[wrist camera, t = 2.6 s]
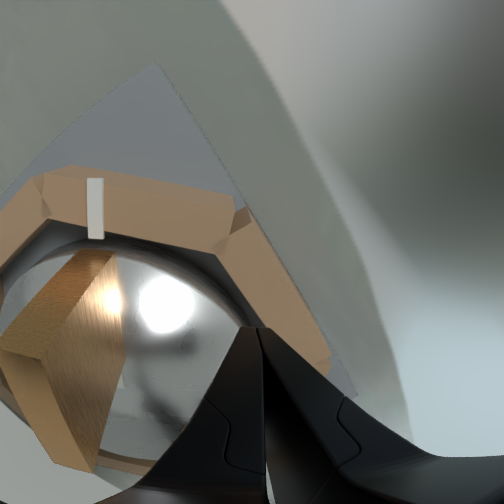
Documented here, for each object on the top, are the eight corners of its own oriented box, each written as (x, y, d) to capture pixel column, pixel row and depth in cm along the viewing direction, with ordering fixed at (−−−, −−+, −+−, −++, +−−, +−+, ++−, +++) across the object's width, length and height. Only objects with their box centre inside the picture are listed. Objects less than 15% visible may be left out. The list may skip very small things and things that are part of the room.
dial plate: (352, 383, 16) (371, 423, 13) (141, 463, 18) (137, 497, 15) (160, 66, 9) (139, 45, 7) (-48, 274, 11) (-79, 300, 8)
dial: (243, 441, 15) (255, 545, 9) (51, 416, 14) (19, 504, 8) (277, 244, 11) (342, 382, 5) (-5, 224, 10) (-115, 301, 3)
